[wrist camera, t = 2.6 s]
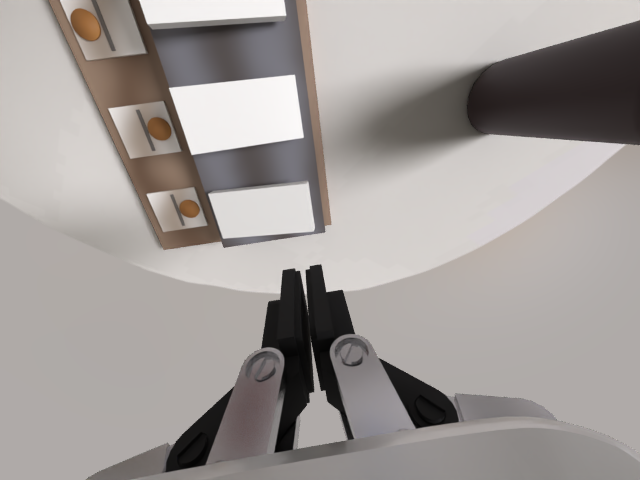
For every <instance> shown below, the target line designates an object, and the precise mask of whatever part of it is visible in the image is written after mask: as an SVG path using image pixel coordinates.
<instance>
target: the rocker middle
mask: <svg viewBox="0 0 640 480" xmlns="http://www.w3.org/2000/svg"><path fill="white" fill-rule="evenodd" d="M169 90H170V93H171V96H172V98H173V101H174V104H175V107H176V110H177V113H178V116H179V119H180V122H181V125H182V128H183V131H184V134H185V137H186V140H187V143H188V146H189V149H190V152H191V155H195V154H202V153H208V152H215V151H221V150H228V149H234V148H241V147H247V146H254V145H260V144H267V143H273V142H280V141H286V140H293V139H299V138H304V135H303V128H302V121H301V114H300V107H299V100H298V93H297V86H296V79H295V75H287V76H277V77H268V78H259V79H249V80H240V81H230V82H221V83H211V84H202V85H192V86H183V87H173V88H169Z"/></svg>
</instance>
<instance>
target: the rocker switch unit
mask: <svg viewBox="0 0 640 480" xmlns="http://www.w3.org/2000/svg"><path fill="white" fill-rule="evenodd" d="M49 2H50V5H51V7H52V9H53V11H54V13H55V15H56V18H57V20H58V22H59V24H60V26H61V28H62V31H63V33H64V35H65V37H66V39H67V41H68V44H69V46H70V48H71V50H72V52H73V54H74V57H75V59H76V61H77V63H78V65H79V67H80V70H81V72H82V74H83V76H84V78H85V80H86V83H87V85H88V87H89V89H90V91H91V93H92V96H93V98H94V100H95V102H96V104H97V106H98V109H99V111H100V113H101V115H102V117H103V119H104V122H105V124H106V126H107V128H108V130H109V132H110V135H111V137H112V139H113V141H114V143H115V145H116V147H117V150H118V152H119V154H120V156H121V158H122V160H123V163H124V165H125V167H126V169H127V171H128V173H129V176H130V178H131V180H132V182H133V184H134V186H135V189H136V191H137V193H138V195H139V197H140V199H141V202H142V204H143V206H144V208H145V210H146V212H147V215H148V217H149V219H150V221H151V223H152V225H153V228H154V230H155V232H156V234H157V236H158V238H159V241H160V243H161V245H162V247H163V249H164V250H166V249H173V248H180V247H186V246H193V245H200V244H206V243H213V242H220V241H222V244H223V247H224V248H225V247H232V246H238V245H245V244H251V243H258V242H265V241H271V240H278V239H284V238H291V237H298V236H304V235H311V234H317V233H324V232H325V226H326V225H331V217H330V208H329V199H328V190H327V181H326V173H325V164H324V155H323V146H322V137H321V128H320V120H319V111H318V102H317V93H316V84H315V75H314V67H313V58H312V49H311V40H310V31H309V22H308V14H307V5H306V0H284V2H285V9H286V18H285V21H276V22H261V23H245V24H230V25H215V26H200V27H184V28H169V29H154V30H153V29H152V28H151V27H150V26H149V25H148V24H147V22H146V19H145V16H144V13H143V10H142V7H141V4H140V1H139V0H49ZM287 75H295V79H296V86H297V93H298V100H299V107H300V114H301V121H302V128H303V135H304V138H299V139H293V140H286V141H280V142H273V143H267V144H260V145H254V146H247V147H241V148H234V149H228V150H221V151H215V152H208V153H202V154H195V155H191V152H190V149H189V146H188V143H187V140H186V137H185V134H184V131H183V128H182V125H181V122H180V119H179V116H178V113H177V110H176V107H175V104H174V101H173V98H172V96H171V93H170V90H169V88H173V87H183V86H192V85H202V84H211V83H221V82H230V81H240V80H249V79H259V78H268V77H277V76H287ZM302 181H308V183H309V190H310V197H311V204H312V211H313V218H314V224H315V229H314V232H302V233H289V234H276V235H264V236H251V237H238V238H225V239H223V237H222V234H221V231H220V228H219V225H218V222H217V219H216V216H215V213H214V210H213V207H212V204H211V201H210V198H209V195H208V194H209V193H211V192H212V191H217V190H226V189H236V188H245V187H255V186H264V185H273V184H283V183H292V182H302Z"/></svg>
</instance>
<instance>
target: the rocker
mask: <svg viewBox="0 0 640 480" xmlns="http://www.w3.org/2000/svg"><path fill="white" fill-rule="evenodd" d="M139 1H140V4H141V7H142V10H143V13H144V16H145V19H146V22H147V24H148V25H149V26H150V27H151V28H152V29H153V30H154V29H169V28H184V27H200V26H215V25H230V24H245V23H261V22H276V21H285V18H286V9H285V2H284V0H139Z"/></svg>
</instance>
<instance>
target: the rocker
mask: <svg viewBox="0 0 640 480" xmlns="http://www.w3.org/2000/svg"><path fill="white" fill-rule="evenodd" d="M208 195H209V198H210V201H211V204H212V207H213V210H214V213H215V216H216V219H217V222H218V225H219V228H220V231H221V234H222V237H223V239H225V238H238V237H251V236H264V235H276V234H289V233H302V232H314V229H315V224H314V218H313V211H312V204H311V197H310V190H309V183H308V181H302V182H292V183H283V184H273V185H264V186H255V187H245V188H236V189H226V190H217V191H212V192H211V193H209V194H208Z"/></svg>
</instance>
